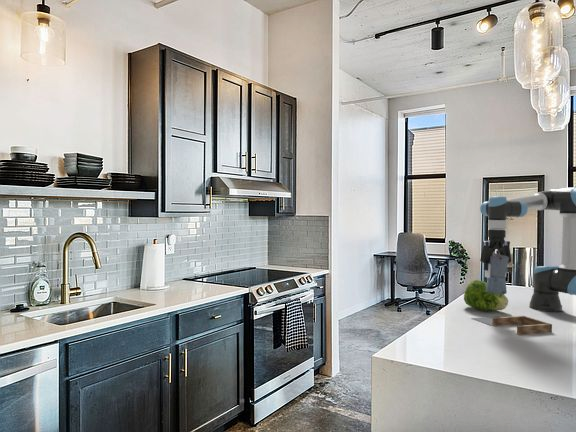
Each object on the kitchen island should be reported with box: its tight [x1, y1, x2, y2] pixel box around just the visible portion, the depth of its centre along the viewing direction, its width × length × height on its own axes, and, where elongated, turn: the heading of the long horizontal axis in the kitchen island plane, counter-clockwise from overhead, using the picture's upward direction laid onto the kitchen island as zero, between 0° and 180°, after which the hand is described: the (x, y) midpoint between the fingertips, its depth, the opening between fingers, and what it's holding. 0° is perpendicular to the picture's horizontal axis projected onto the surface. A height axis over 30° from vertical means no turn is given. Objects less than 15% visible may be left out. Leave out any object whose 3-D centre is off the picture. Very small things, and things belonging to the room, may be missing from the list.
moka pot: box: [486, 250, 509, 295], centre depth 201 cm, size 10×15×20 cm, turn 168°
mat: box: [471, 315, 499, 326], centre depth 202 cm, size 16×12×1 cm
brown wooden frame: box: [491, 315, 553, 336], centre depth 189 cm, size 18×15×4 cm
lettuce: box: [463, 279, 509, 312], centre depth 223 cm, size 16×21×15 cm
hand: (495, 277), depth 201 cm, fingers closed on moka pot, 8 cm apart
